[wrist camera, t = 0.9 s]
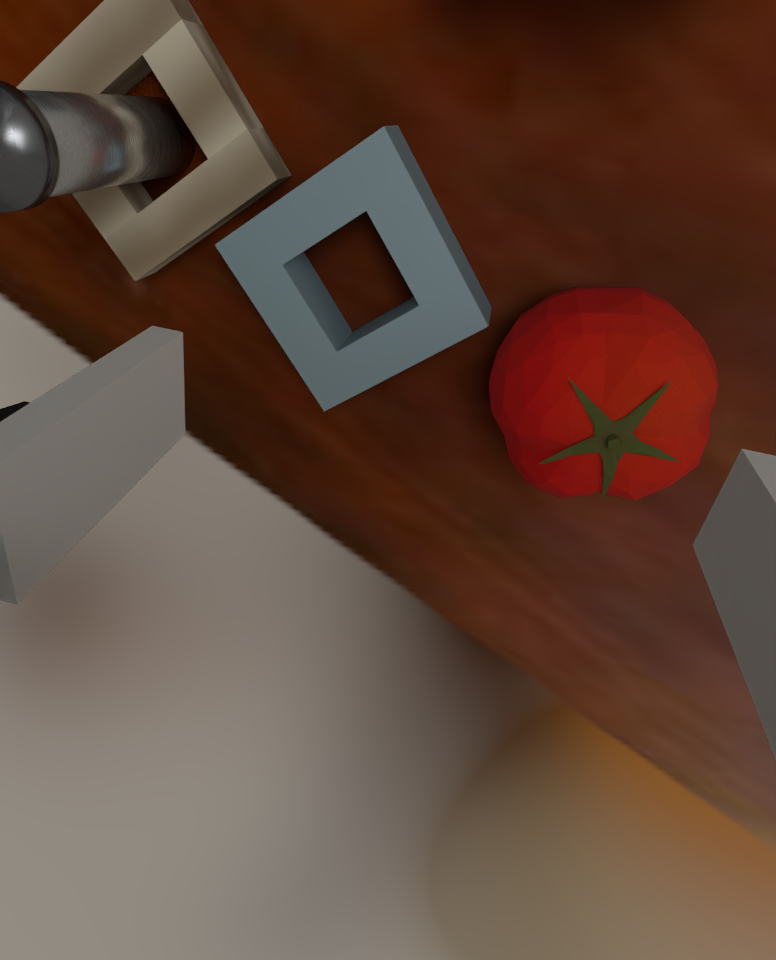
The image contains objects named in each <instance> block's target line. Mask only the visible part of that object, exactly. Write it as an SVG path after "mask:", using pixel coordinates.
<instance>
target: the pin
mask: <svg viewBox="0 0 776 960" xmlns="http://www.w3.org/2000/svg"><path fill="white" fill-rule="evenodd" d="M194 153H195V137H194V136H193V134H192V133H191V131H190V129H189V128H188V126H187V125H186V123H185V121H184V120H183V118H182V117H181V115H180V114H179V112H178V110H177V109H176V107H175V106H174V104H173V102H172V101H170V100H168V99H165V98H161V97H148V96H129V95H111V94H93V93H74V92H56V91H37V90H19V89H18V88H16V87H14V86H12V85H11V84H9V83H6V82H3V81H1V80H0V212H14V211H19V210H25V209H30V208H34V207H36V206H38V205H40V204H42V203H43V202H45V201H46V200H47V199H48V198H49V197H52V196H58V195H64V194H70V193H75V192H81V191H87V190H93V189H99V188H105V187H111V186H117V185H123V184H128V183H134V182H140V181H146V180H152V179H158V178H164V177H170V176H175V175H178V174H180V173H182V172H183V171H184V170H186V169H187V167H188V166H189V165H190V163H191V161H192V159H193V156H194Z"/></svg>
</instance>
